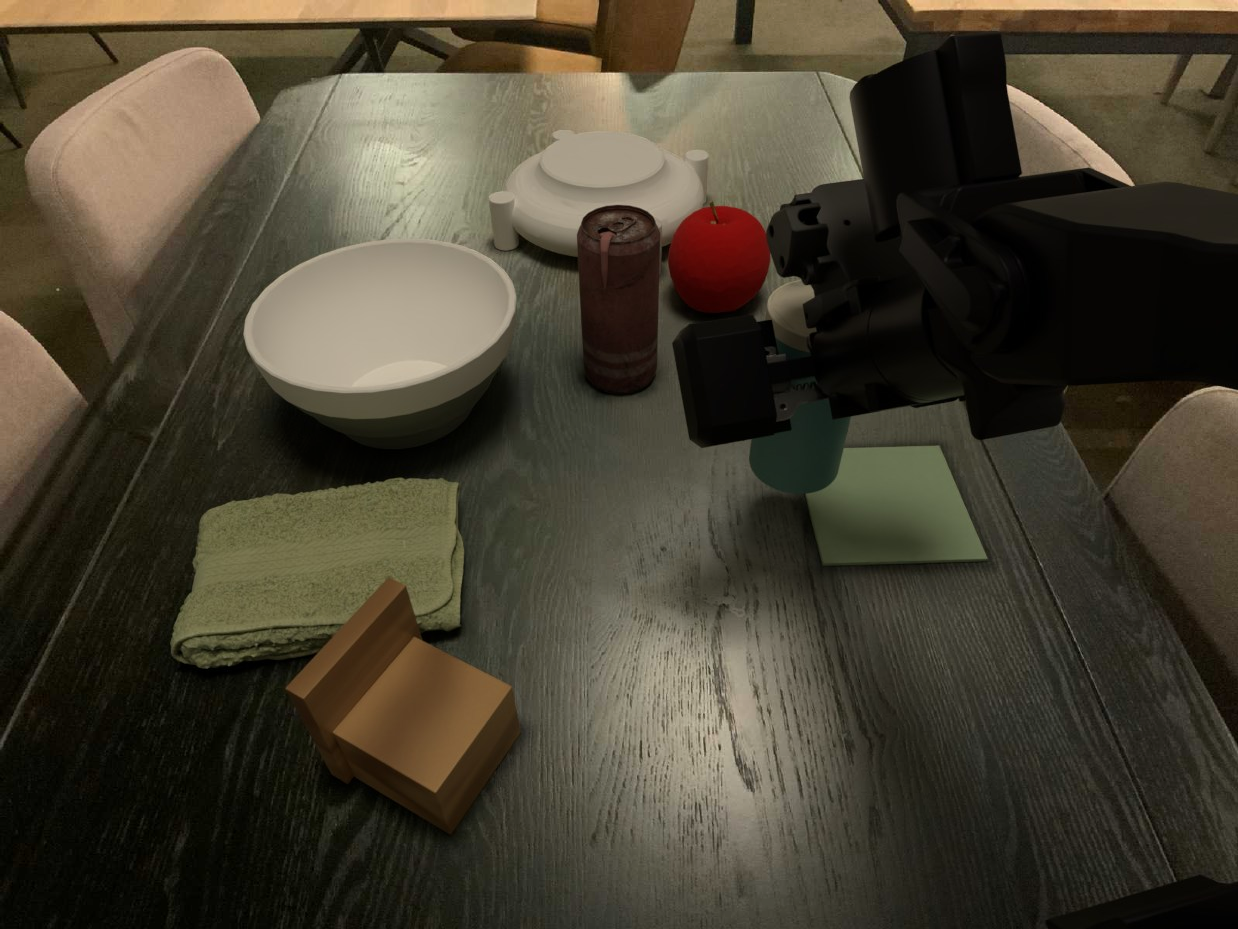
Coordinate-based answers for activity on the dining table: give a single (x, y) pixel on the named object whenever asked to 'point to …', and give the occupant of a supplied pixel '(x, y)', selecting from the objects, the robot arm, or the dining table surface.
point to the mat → (893, 510)
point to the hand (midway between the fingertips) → (798, 380)
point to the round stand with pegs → (595, 188)
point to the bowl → (385, 337)
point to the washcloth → (317, 568)
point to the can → (619, 296)
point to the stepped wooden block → (404, 712)
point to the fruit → (718, 258)
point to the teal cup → (798, 411)
